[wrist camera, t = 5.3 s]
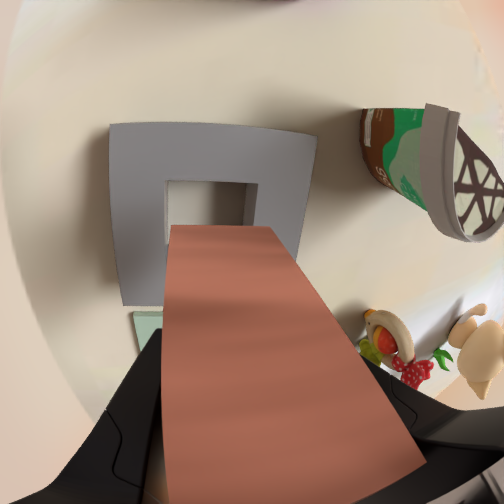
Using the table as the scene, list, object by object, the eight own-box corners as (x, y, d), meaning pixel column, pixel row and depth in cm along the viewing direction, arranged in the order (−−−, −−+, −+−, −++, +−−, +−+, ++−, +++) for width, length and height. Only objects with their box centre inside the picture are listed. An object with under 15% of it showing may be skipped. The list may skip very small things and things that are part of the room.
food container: (322, 172, 19) (414, 221, 11) (348, 100, 17) (454, 106, 8) (417, 216, 24) (491, 264, 15) (438, 161, 21) (519, 195, 13)
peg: (258, 303, 13) (342, 508, 4) (173, 306, 12) (195, 539, 4) (269, 226, 11) (426, 462, 3) (171, 224, 10) (176, 537, 2)
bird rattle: (335, 314, 30) (355, 371, 31) (382, 354, 19) (395, 420, 20) (380, 290, 30) (394, 348, 31) (438, 317, 19) (443, 386, 20)
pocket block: (275, 280, 23) (286, 301, 20) (129, 282, 20) (123, 305, 17) (299, 132, 18) (317, 136, 15) (122, 123, 15) (109, 124, 12)
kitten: (443, 356, 43) (481, 404, 30) (420, 359, 39) (464, 417, 26) (484, 296, 37) (531, 341, 24) (468, 290, 34) (525, 345, 21)
